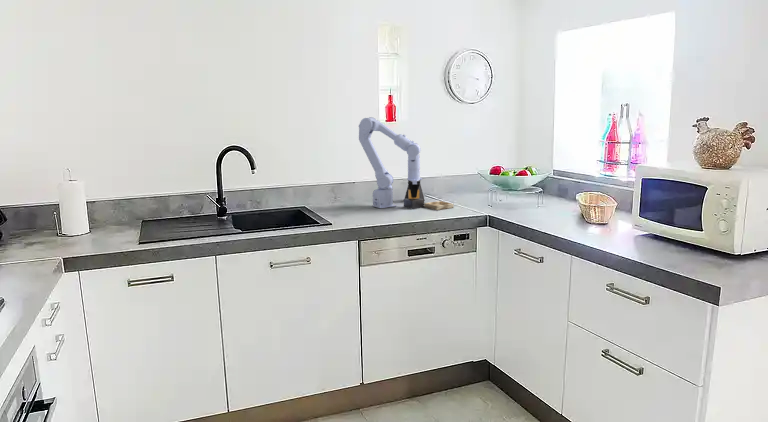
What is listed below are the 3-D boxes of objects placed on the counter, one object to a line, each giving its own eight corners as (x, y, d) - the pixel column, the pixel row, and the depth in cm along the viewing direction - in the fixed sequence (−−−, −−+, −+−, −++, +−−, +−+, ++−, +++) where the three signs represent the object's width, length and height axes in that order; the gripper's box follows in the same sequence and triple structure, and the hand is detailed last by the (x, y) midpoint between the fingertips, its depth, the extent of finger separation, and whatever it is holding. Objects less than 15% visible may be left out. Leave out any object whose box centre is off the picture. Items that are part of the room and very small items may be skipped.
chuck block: (412, 209, 274) (412, 200, 273) (403, 207, 279) (403, 198, 278) (424, 207, 277) (424, 199, 277) (415, 205, 283) (415, 197, 282)
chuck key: (408, 207, 277) (408, 190, 275) (408, 206, 279) (408, 189, 278) (419, 207, 277) (419, 190, 276) (418, 206, 280) (418, 189, 278)
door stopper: (404, 200, 296) (403, 177, 294) (412, 199, 300) (411, 176, 298) (416, 202, 290) (416, 179, 288) (424, 201, 294) (424, 178, 292)
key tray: (437, 210, 270) (437, 206, 270) (424, 207, 278) (424, 203, 278) (453, 207, 275) (453, 203, 275) (440, 204, 284) (440, 200, 283)
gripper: (423, 170, 268) (423, 199, 270) (421, 167, 282) (421, 194, 285) (408, 171, 268) (408, 199, 270) (406, 167, 282) (406, 194, 284)
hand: (413, 197), depth 277 cm, fingers closed on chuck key, 2 cm apart
